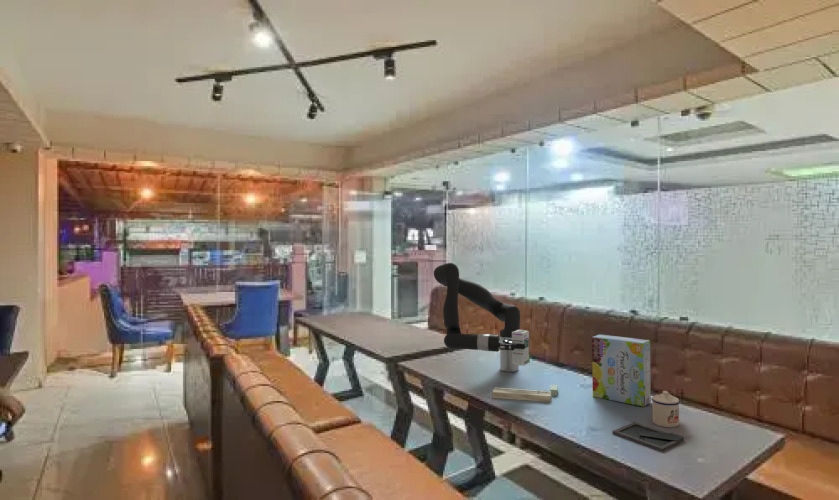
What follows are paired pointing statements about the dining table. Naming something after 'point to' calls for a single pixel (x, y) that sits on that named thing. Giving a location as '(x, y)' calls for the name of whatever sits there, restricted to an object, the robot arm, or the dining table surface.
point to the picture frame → (649, 436)
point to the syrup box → (521, 354)
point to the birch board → (522, 394)
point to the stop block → (554, 390)
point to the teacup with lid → (665, 410)
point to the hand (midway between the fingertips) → (525, 344)
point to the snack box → (621, 369)
